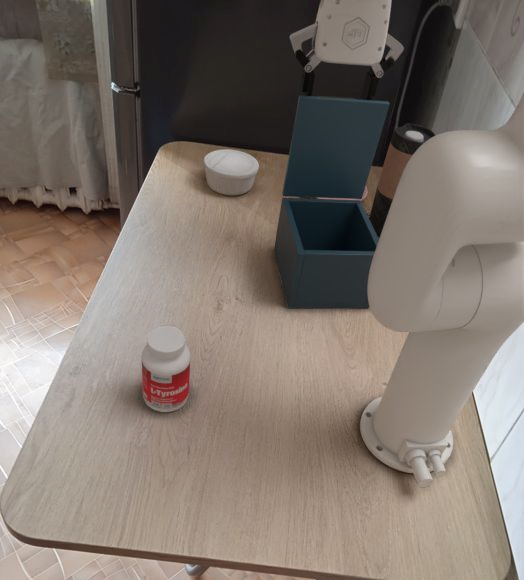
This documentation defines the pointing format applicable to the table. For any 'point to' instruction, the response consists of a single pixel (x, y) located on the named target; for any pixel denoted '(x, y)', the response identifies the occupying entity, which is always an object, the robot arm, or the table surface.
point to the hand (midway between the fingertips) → (336, 98)
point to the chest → (324, 252)
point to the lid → (333, 146)
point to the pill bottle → (165, 369)
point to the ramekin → (230, 171)
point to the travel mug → (395, 169)
